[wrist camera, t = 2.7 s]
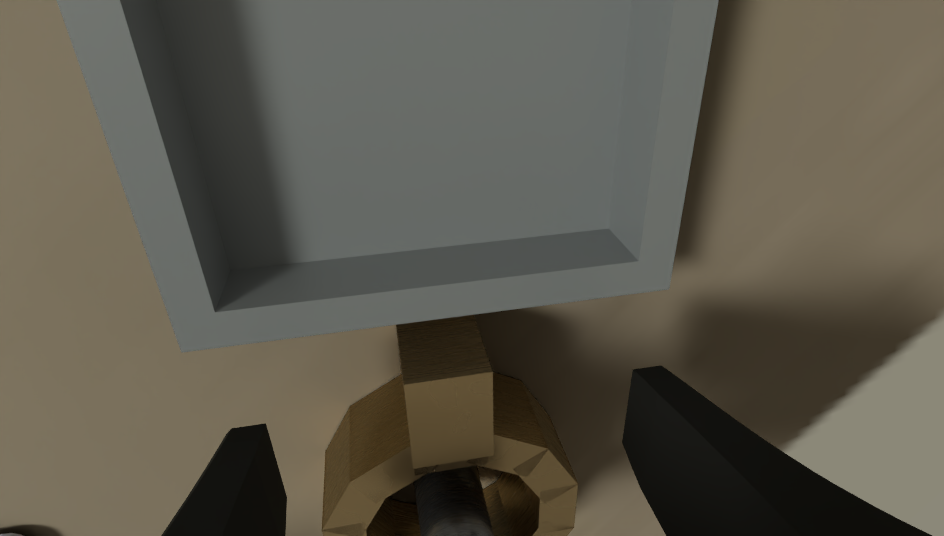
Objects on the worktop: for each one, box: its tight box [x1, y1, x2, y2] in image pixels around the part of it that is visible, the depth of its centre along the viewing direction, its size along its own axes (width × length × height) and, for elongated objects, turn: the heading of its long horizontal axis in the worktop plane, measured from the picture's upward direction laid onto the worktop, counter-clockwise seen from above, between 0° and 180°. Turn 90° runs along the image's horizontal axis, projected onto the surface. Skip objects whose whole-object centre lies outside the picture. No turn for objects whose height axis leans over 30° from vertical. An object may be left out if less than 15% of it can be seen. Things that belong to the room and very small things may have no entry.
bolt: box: [414, 465, 494, 536], centre depth 14 cm, size 3×2×5 cm, turn 91°
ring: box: [322, 315, 578, 536], centre depth 15 cm, size 6×9×3 cm
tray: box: [57, 0, 719, 352], centre depth 10 cm, size 10×11×2 cm
